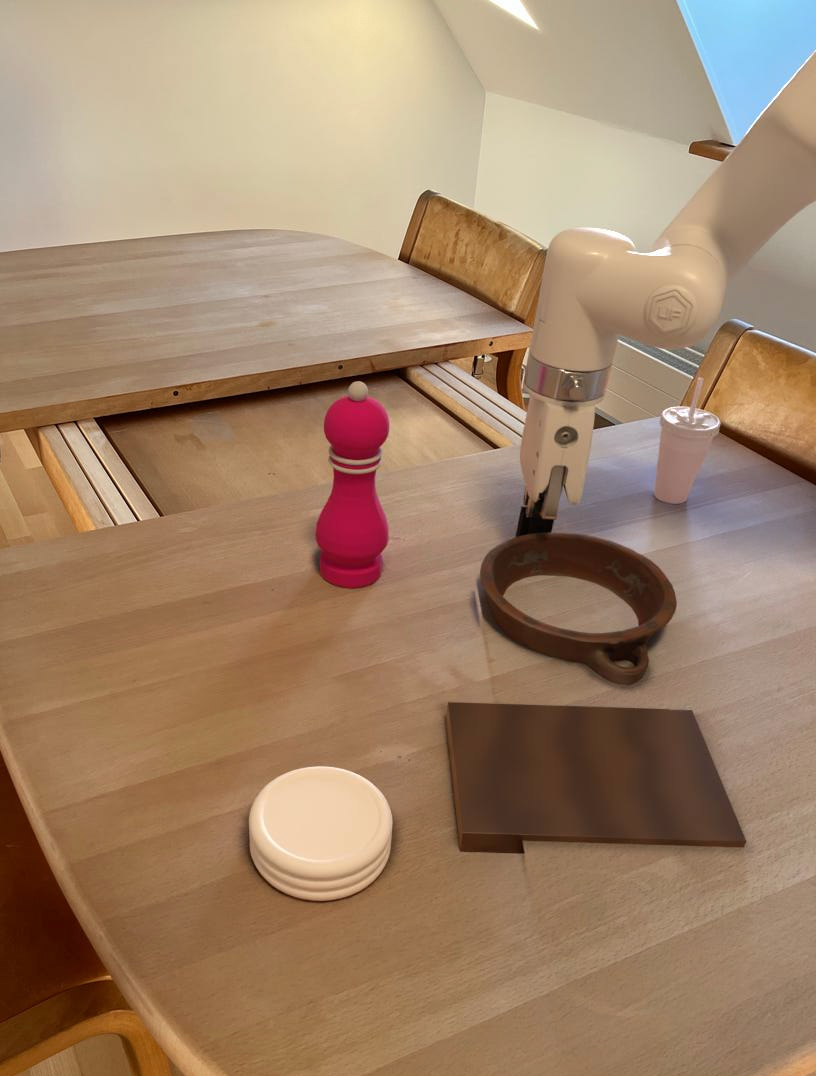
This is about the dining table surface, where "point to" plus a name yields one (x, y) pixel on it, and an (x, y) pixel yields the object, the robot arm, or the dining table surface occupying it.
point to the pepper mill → (353, 491)
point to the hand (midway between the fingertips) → (531, 544)
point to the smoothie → (683, 448)
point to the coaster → (320, 833)
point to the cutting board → (584, 777)
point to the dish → (592, 563)
